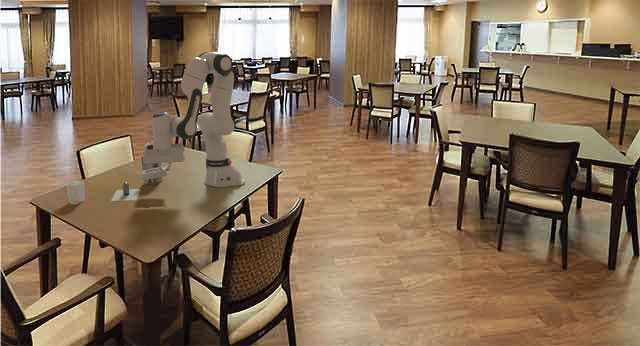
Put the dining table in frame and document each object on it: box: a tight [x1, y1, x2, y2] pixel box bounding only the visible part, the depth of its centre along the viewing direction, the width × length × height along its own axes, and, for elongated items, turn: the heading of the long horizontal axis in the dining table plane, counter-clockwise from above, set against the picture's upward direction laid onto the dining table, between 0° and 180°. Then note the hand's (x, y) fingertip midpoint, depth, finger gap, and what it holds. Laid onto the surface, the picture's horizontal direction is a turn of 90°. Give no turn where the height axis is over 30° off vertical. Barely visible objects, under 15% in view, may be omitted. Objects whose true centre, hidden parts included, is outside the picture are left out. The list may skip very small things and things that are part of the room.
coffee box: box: [141, 156, 163, 185], centre depth 278 cm, size 9×6×16 cm
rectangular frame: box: [141, 165, 169, 181], centre depth 259 cm, size 12×8×3 cm, turn 101°
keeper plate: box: [110, 188, 142, 202], centre depth 259 cm, size 12×18×1 cm, turn 12°
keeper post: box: [121, 181, 130, 196], centre depth 258 cm, size 3×3×6 cm
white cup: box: [65, 180, 86, 205], centre depth 247 cm, size 8×8×10 cm
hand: (165, 170), depth 260 cm, fingers closed on rectangular frame, 2 cm apart
